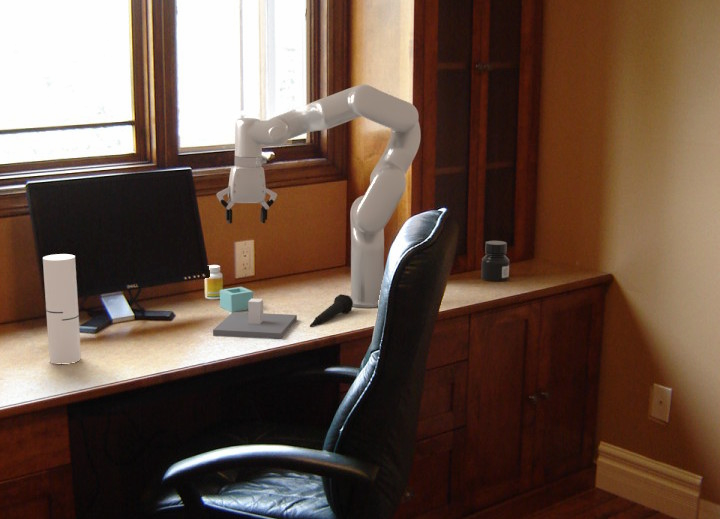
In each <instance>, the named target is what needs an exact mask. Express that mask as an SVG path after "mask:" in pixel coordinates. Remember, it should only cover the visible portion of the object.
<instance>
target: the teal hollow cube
mask: <svg viewBox="0 0 720 519" xmlns="http://www.w3.org/2000/svg"><path fill="white" fill-rule="evenodd" d="M250 299H254V291H253V290H250V289H249V288H246V287H243V286H236V287H231V288H230V287H229V288H223V290H220V299H219V307H220V308H222V309H224V310H226V311H228V312H231V313H233V312H242V311H248V301H249V300H250Z"/></svg>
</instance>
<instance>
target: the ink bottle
mask: <svg viewBox="0 0 720 519" xmlns="http://www.w3.org/2000/svg"><path fill="white" fill-rule="evenodd" d="M484 245H485V247H484V250H485V251H484V252H485V253H484V254H485V255H484V256H483V257H482V258H481V272H480V273H481V275H480V276H481V279H482V280H483V281H488V282H504V281H508V280H509V277H510V276H509V275H510V259H509V258H508V257H507V256H506V254H507V248H508V244H507V242H506V241H501V240H489V241H485V244H484Z"/></svg>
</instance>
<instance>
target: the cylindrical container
mask: <svg viewBox="0 0 720 519" xmlns="http://www.w3.org/2000/svg"><path fill="white" fill-rule="evenodd" d="M42 265H43V282H44V295H45V296H44V297H45V311H46V312H45V313H46V325H47V326H46V327H47V328H46V329H47V343H48V355H49V356H48V357H49V363H50V362H52V363H61V364H62V363H72V362H76V361H78V360H80V359H81V360H82V353H81V352H82V350H81V334H80V315H79V301H78V283H77V269H76V268H77V266H76V255H73V254H68V253H59V254H57V253H55V254H50V255H49V254H48V255H45V256H43V257H42ZM81 360H80V361H81Z"/></svg>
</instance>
